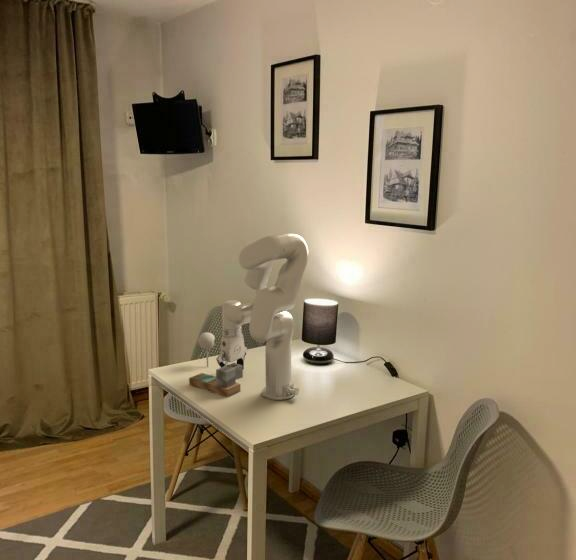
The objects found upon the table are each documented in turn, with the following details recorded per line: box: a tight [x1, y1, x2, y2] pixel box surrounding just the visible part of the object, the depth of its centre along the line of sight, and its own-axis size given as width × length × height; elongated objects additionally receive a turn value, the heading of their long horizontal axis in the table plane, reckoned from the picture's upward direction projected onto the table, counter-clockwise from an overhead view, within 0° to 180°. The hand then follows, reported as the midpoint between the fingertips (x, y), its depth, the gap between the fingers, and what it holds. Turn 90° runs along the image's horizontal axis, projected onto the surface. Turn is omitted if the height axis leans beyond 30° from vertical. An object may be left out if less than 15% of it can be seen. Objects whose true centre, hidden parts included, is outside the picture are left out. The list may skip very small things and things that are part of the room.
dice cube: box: [227, 362, 244, 381], centre depth 226 cm, size 5×5×5 cm
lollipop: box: [197, 331, 216, 368], centre depth 237 cm, size 7×7×15 cm
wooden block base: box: [188, 366, 241, 398], centre depth 214 cm, size 20×7×9 cm, turn 54°
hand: (232, 372), depth 226 cm, fingers open, 9 cm apart
